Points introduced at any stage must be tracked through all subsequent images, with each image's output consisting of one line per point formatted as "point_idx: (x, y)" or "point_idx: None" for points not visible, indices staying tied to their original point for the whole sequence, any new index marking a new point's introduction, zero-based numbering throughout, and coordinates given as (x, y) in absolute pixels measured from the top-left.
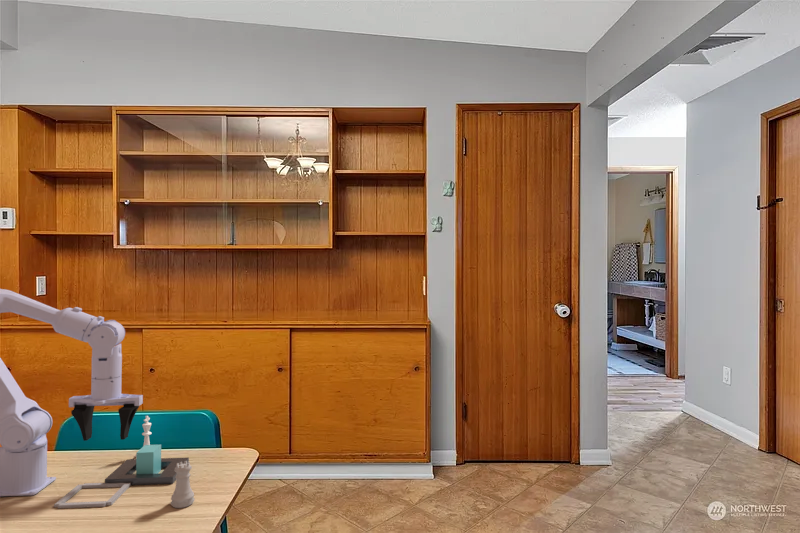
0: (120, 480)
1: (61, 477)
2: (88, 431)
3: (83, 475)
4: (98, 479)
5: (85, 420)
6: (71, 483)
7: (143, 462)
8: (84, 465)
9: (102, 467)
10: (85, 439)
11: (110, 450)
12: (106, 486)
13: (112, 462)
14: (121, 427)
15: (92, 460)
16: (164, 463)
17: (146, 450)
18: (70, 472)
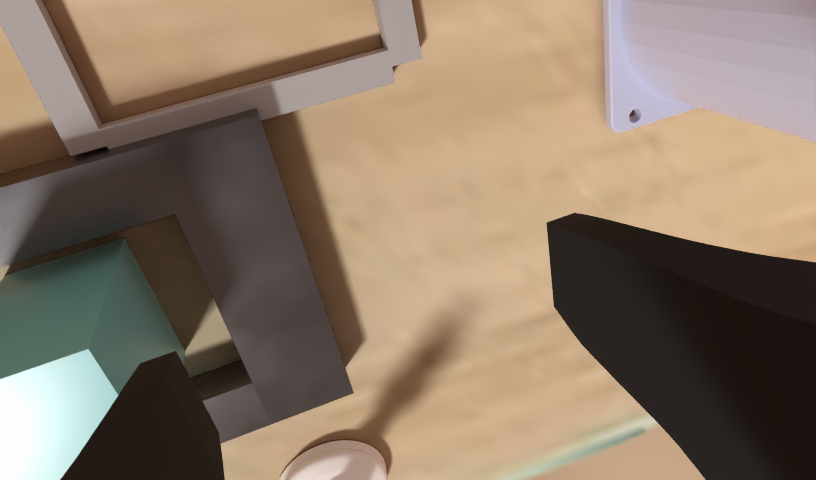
0: (145, 142)
1: (594, 160)
2: (602, 302)
3: (497, 209)
4: (376, 184)
5: (744, 349)
6: (494, 102)
7: (42, 317)
8: None
9: (464, 315)
10: (563, 222)
11: (551, 461)
12: (227, 90)
13: (455, 374)
14: (118, 466)
15: (565, 360)
16: None
17: (41, 414)
18: None
